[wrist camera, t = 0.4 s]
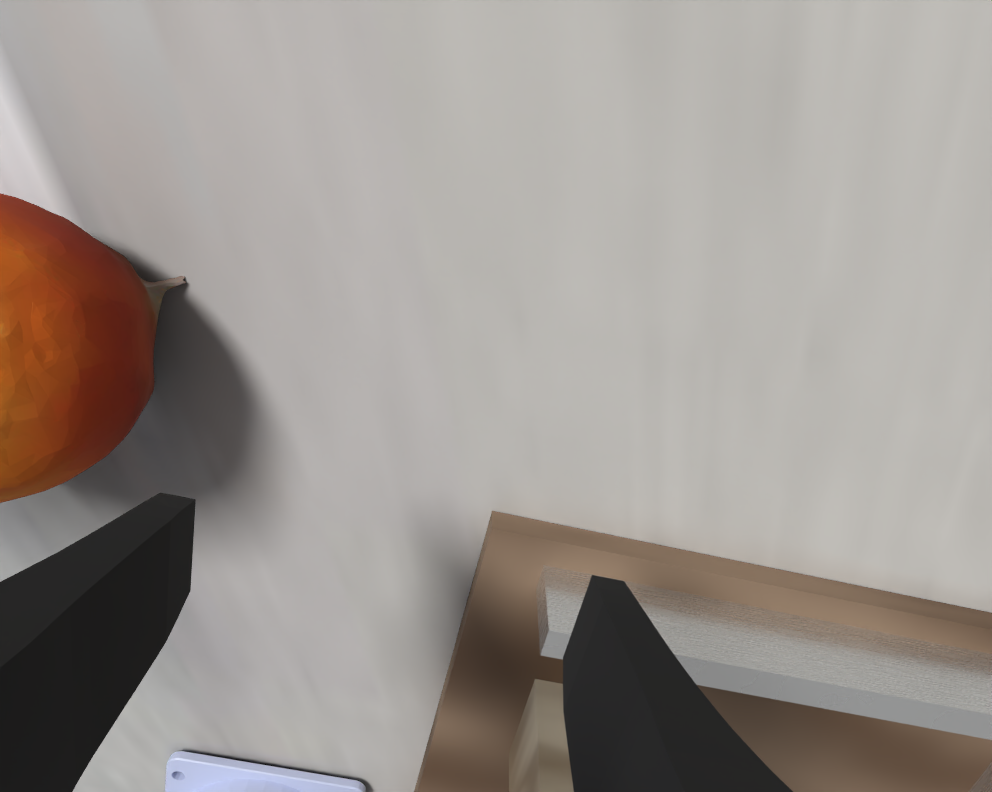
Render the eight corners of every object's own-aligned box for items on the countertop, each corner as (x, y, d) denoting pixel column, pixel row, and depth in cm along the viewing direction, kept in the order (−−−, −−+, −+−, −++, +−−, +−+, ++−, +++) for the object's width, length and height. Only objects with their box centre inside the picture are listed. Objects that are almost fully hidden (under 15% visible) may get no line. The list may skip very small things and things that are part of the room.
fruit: (228, 490, 22) (-79, 617, 15) (76, 382, 25) (-236, 449, 18) (262, 237, 18) (-111, 259, 12) (83, 148, 22) (-295, 126, 15)
